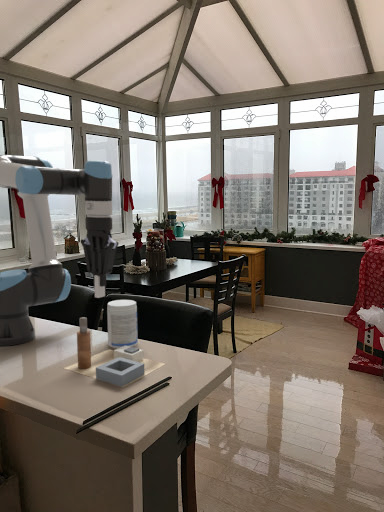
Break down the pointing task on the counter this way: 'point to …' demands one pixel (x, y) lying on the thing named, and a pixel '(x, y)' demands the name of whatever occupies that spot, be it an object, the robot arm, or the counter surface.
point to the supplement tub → (122, 323)
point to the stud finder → (129, 353)
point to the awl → (83, 345)
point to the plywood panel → (106, 357)
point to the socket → (120, 371)
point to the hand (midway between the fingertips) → (99, 296)
